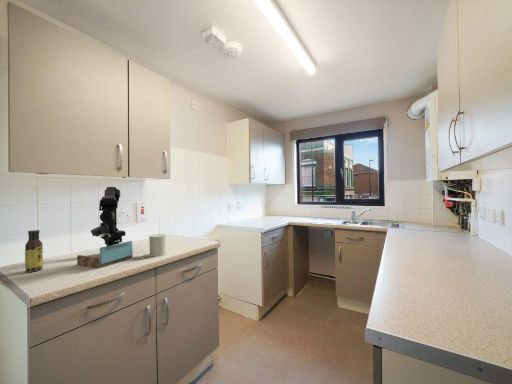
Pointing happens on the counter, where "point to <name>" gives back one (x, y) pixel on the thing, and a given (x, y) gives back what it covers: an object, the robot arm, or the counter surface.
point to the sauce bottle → (33, 252)
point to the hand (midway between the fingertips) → (109, 248)
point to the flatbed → (97, 261)
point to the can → (157, 245)
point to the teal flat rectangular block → (115, 252)
